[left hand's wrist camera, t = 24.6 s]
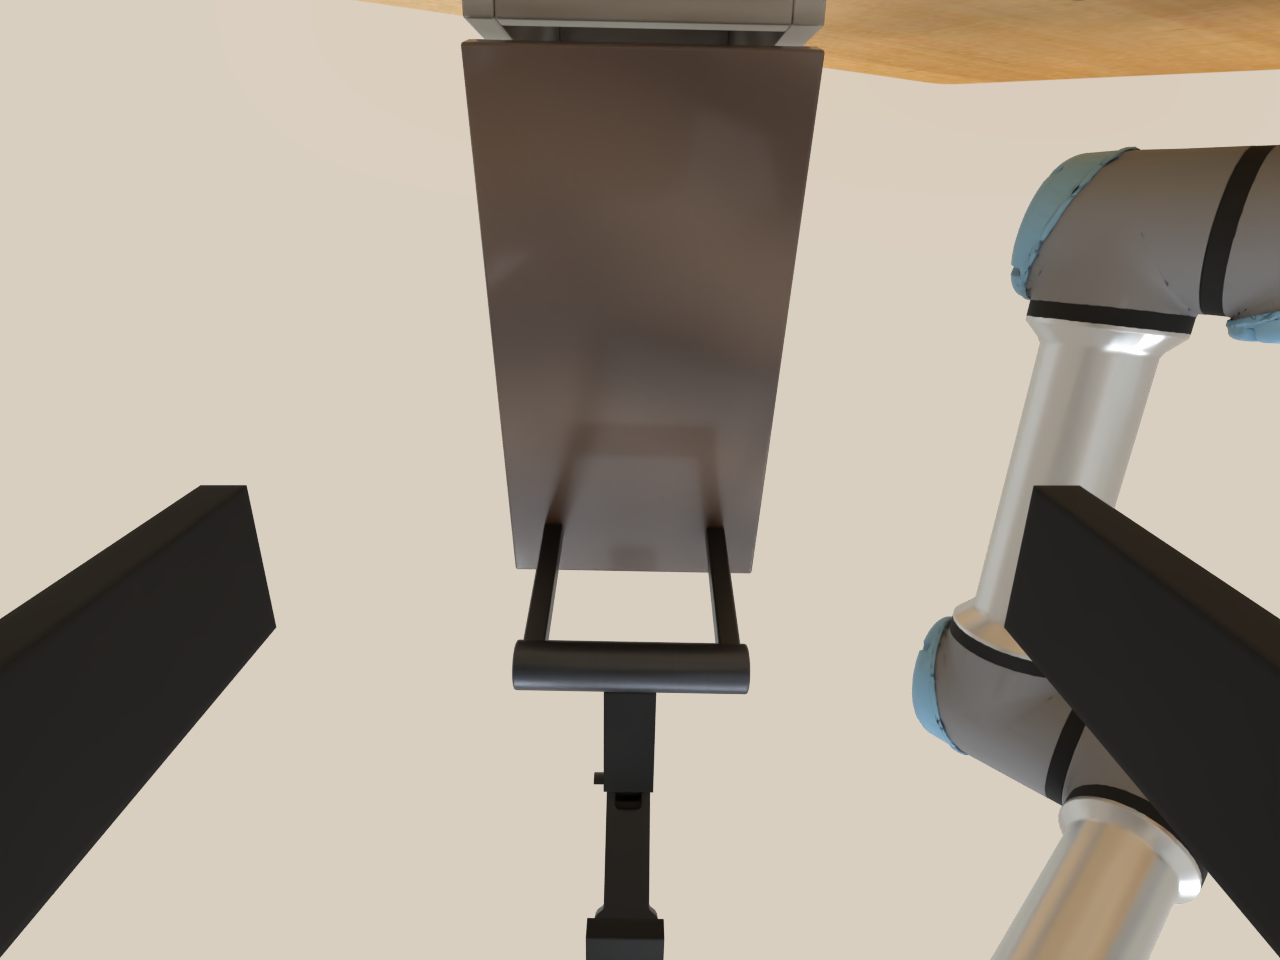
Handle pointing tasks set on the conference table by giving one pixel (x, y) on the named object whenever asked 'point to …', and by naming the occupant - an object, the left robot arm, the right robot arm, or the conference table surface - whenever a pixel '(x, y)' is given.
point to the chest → (649, 21)
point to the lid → (637, 319)
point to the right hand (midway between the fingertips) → (628, 783)
